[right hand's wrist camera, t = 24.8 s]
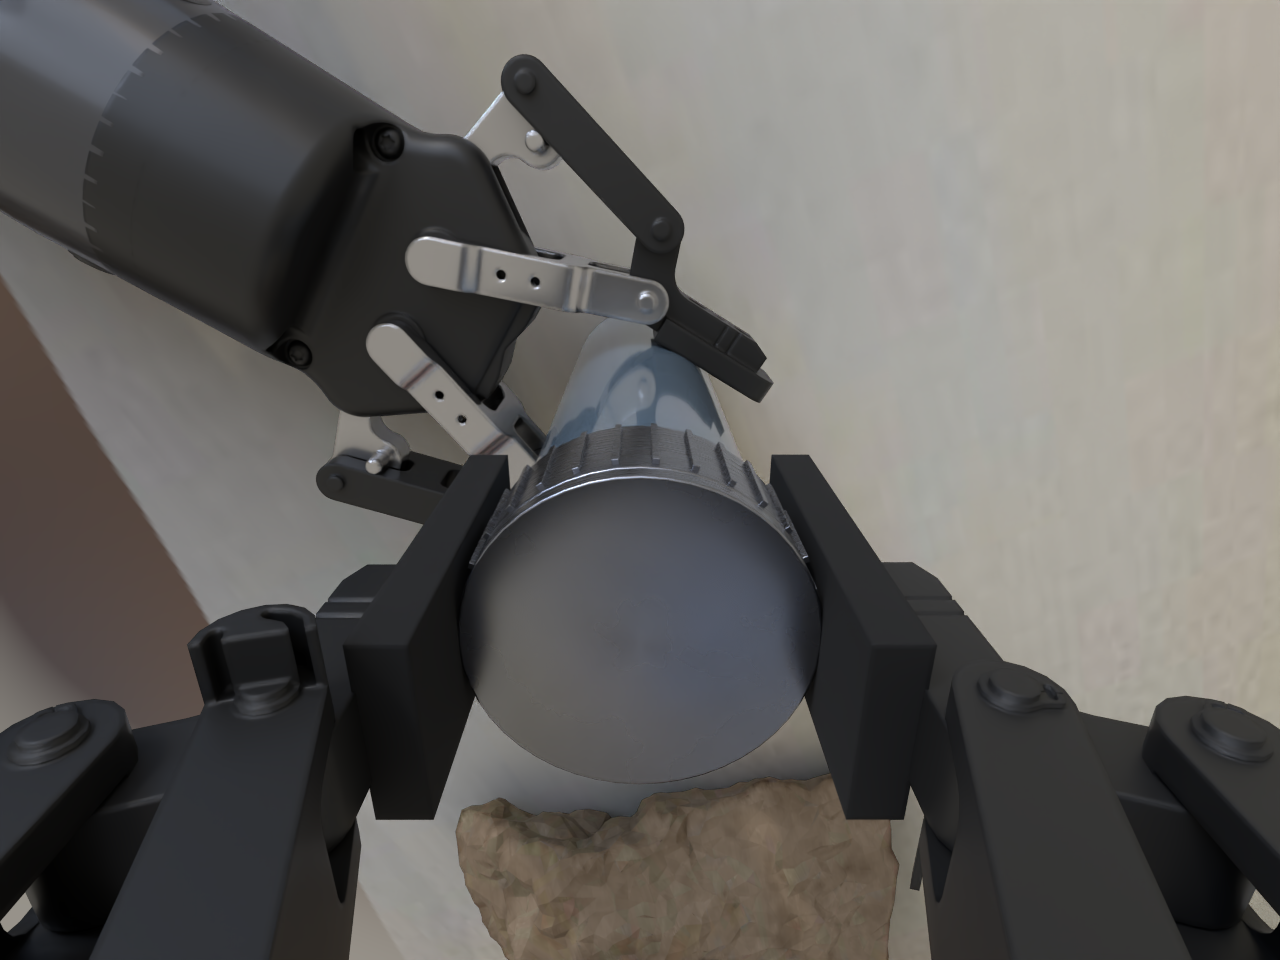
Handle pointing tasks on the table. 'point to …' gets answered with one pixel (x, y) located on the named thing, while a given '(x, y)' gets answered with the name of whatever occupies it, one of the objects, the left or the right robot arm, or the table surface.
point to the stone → (685, 877)
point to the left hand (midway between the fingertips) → (710, 459)
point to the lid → (639, 608)
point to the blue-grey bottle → (636, 389)
